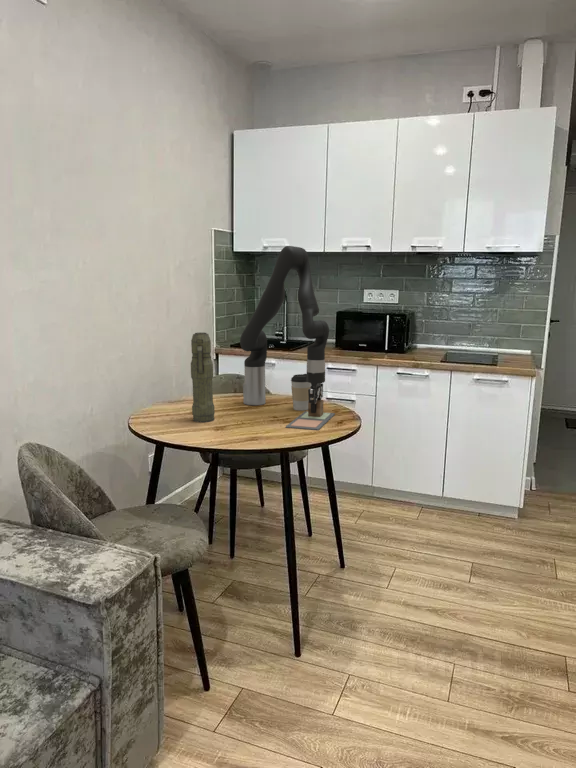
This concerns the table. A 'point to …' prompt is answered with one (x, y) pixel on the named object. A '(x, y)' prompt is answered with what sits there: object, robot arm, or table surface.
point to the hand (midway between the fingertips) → (315, 410)
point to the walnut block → (318, 409)
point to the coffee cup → (300, 392)
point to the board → (310, 421)
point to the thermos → (202, 378)
